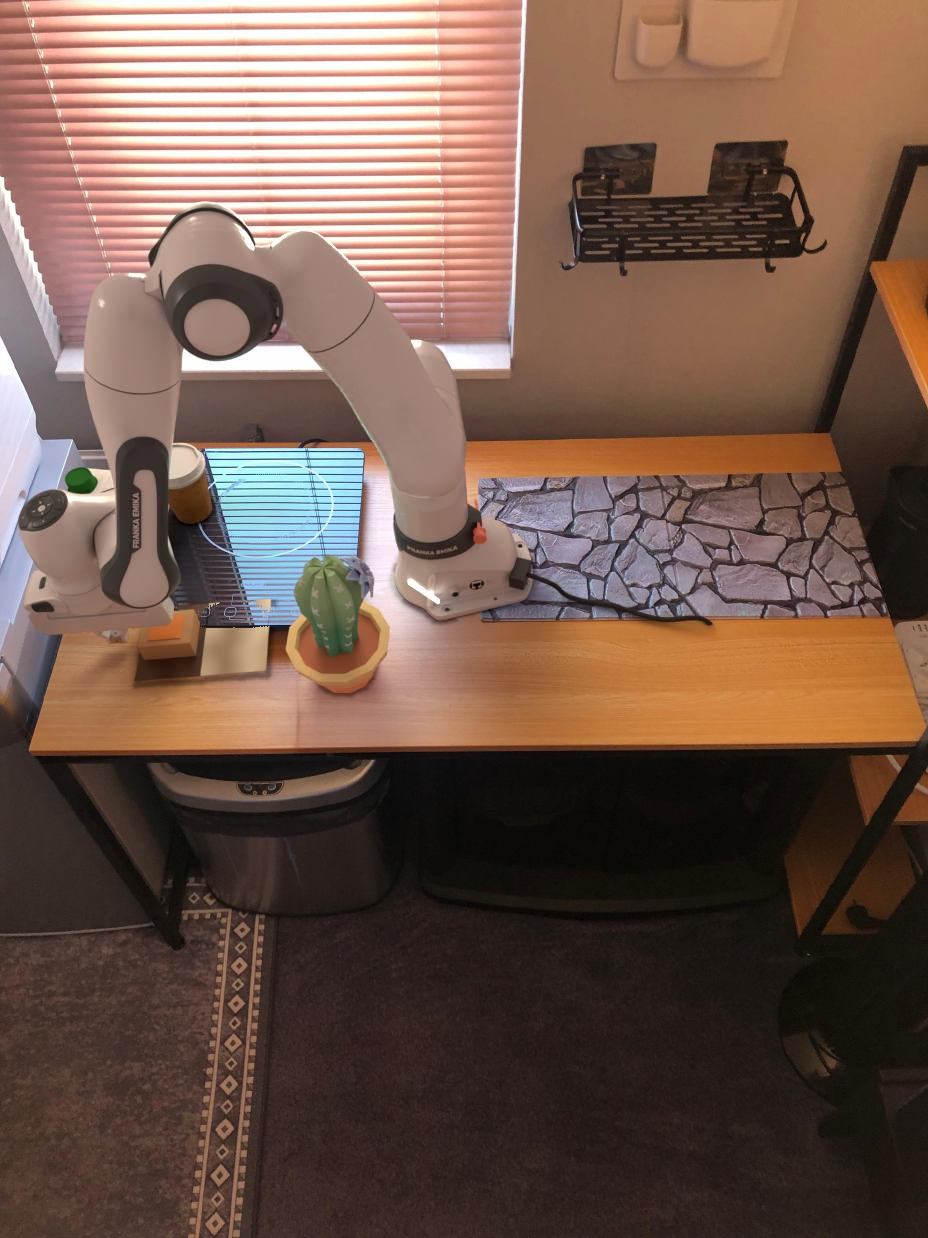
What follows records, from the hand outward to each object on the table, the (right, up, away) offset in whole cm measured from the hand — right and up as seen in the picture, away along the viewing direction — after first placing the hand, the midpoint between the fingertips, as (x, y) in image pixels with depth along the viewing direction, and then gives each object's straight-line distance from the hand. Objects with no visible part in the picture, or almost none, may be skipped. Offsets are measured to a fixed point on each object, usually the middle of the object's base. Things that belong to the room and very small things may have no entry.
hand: (119, 640), depth 147 cm
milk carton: (-2, +13, +13) cm, 18 cm away
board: (+13, 0, +2) cm, 13 cm away
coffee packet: (+8, 0, +1) cm, 8 cm away
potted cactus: (+35, -4, -2) cm, 36 cm away
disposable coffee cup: (+6, +22, +19) cm, 30 cm away
